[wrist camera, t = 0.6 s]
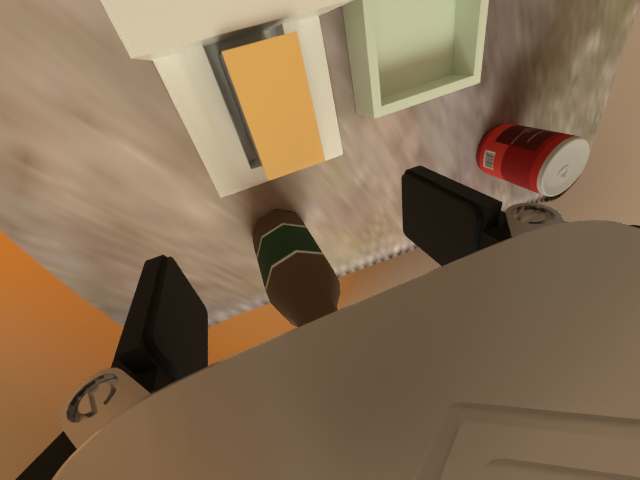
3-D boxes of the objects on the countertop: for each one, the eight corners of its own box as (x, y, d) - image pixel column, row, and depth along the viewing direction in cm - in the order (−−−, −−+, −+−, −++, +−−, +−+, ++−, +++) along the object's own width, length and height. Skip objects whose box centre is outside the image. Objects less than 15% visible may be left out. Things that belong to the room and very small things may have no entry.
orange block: (216, 56, 26) (221, 51, 18) (269, 41, 26) (296, 30, 18) (252, 151, 31) (268, 180, 23) (295, 137, 32) (325, 160, 24)
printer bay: (110, -28, 22) (56, -83, 14) (299, -69, 24) (346, -136, 16) (220, 194, 33) (225, 235, 25) (339, 152, 36) (378, 177, 28)
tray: (330, -76, 24) (352, -100, 21) (462, -105, 27) (503, -131, 23) (356, 113, 34) (374, 118, 30) (452, 81, 36) (479, 82, 32)
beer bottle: (302, 201, 38) (404, 342, 18) (308, 248, 42) (394, 400, 23) (245, 214, 36) (292, 384, 17) (257, 261, 40) (305, 439, 21)
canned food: (489, 180, 48) (553, 205, 39) (466, 157, 43) (532, 180, 35) (521, 140, 45) (597, 157, 37) (501, 112, 41) (581, 124, 32)
